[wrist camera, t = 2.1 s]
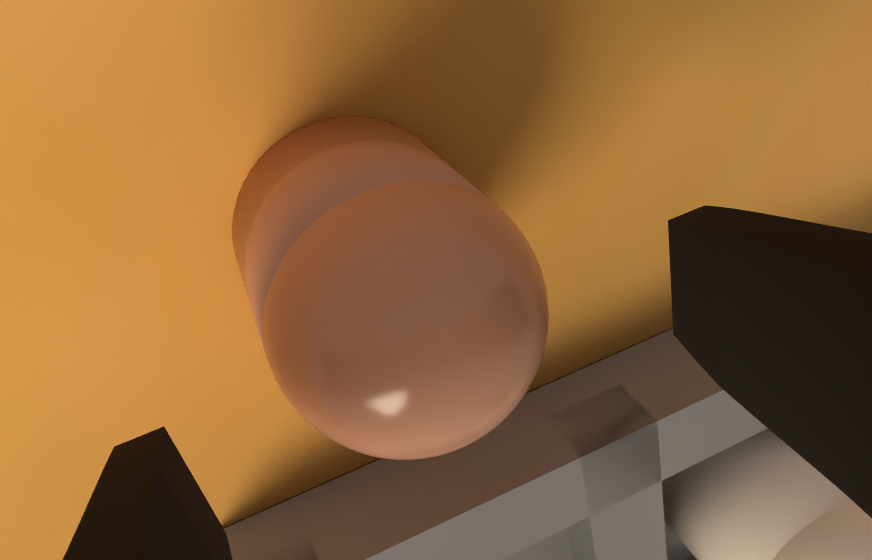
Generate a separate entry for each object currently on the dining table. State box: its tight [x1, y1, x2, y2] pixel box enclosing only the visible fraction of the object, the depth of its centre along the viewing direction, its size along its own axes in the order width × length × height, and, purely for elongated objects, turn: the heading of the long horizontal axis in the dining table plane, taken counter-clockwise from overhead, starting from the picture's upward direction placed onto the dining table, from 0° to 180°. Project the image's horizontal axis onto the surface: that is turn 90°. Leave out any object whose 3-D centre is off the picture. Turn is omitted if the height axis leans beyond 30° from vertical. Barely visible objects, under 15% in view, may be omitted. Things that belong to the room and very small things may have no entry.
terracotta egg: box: [232, 116, 549, 460], centre depth 12 cm, size 4×4×6 cm
